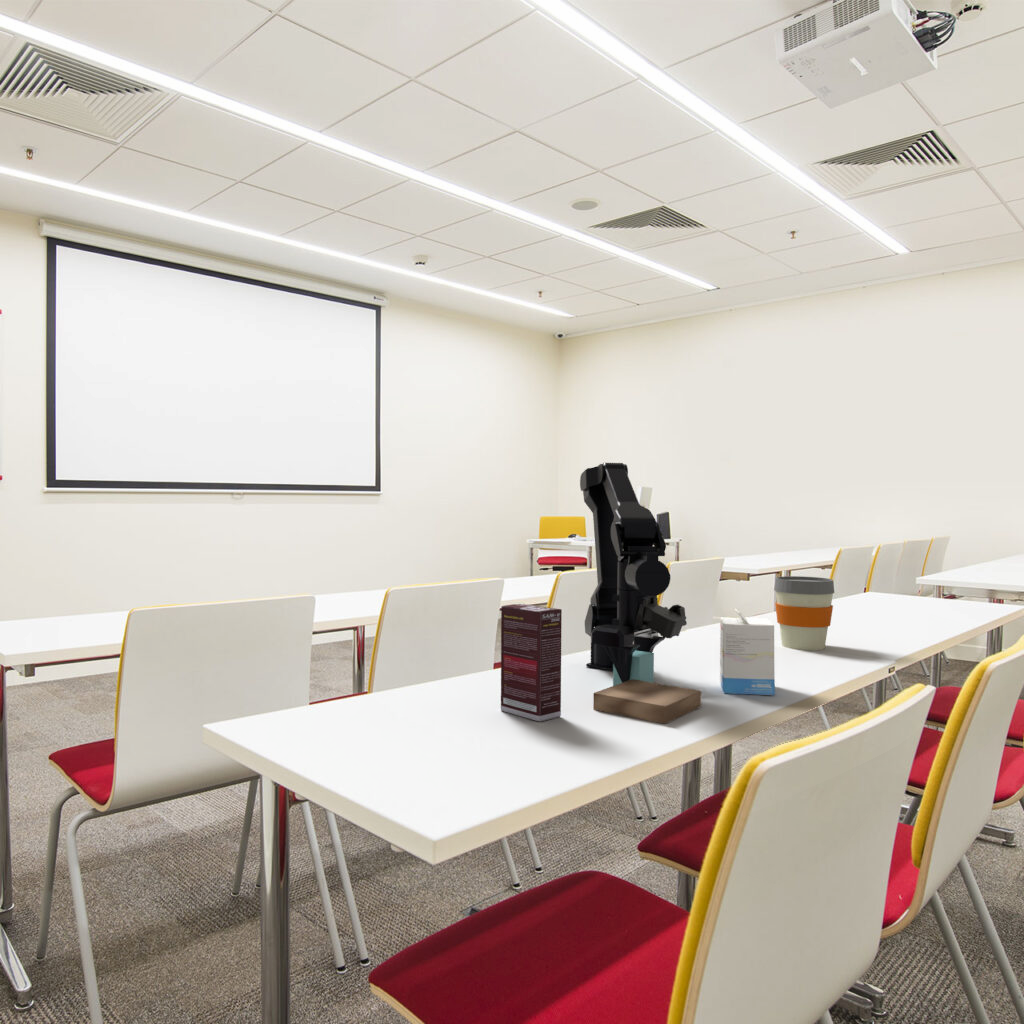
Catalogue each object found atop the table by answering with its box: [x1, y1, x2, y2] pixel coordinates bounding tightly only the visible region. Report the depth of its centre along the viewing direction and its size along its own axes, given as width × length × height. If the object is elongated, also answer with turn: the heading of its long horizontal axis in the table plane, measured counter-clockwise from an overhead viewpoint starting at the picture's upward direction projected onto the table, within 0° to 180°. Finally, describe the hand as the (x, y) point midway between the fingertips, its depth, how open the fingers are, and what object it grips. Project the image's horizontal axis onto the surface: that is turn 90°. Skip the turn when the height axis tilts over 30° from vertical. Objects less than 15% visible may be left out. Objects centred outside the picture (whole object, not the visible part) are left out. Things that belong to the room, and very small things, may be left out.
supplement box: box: [500, 603, 562, 722], centre depth 114 cm, size 9×5×16 cm, turn 43°
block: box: [612, 651, 655, 686], centre depth 130 cm, size 5×5×6 cm
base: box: [592, 679, 702, 725], centre depth 118 cm, size 12×12×2 cm
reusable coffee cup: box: [773, 575, 835, 651], centre depth 171 cm, size 13×13×15 cm
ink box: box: [719, 607, 776, 696], centre depth 131 cm, size 9×8×13 cm
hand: (633, 680), depth 130 cm, fingers open, 5 cm apart
